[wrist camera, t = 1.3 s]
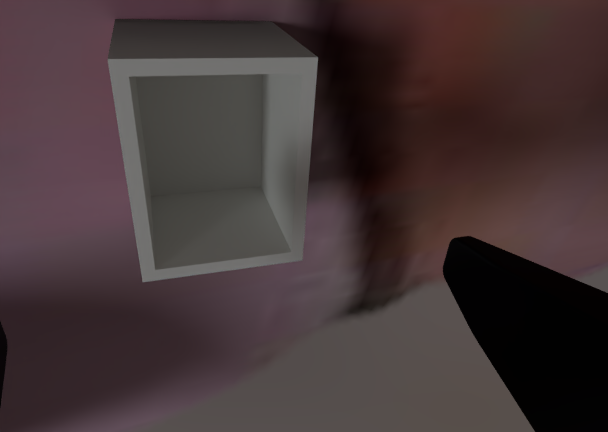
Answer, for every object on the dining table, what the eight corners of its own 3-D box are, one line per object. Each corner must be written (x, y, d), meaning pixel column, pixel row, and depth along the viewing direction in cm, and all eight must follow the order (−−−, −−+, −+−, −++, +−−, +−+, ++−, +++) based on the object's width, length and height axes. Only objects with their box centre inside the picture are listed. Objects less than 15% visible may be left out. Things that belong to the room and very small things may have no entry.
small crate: (267, 188, 19) (302, 260, 15) (140, 199, 18) (142, 282, 14) (271, 21, 16) (318, 57, 12) (115, 19, 14) (107, 58, 10)
